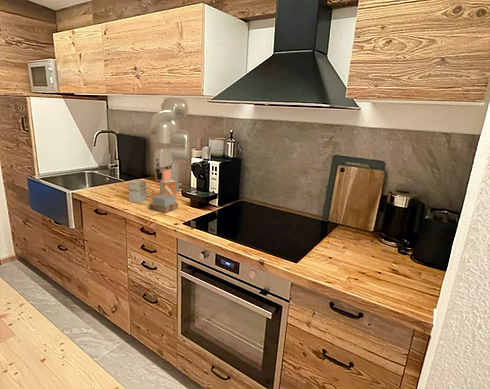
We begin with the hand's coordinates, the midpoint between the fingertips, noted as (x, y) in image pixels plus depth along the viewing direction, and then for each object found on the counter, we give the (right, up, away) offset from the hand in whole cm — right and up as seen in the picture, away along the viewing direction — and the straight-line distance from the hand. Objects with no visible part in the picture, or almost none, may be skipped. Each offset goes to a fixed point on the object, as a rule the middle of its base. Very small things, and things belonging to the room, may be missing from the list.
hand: (163, 178), depth 167 cm
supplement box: (-20, -13, +16) cm, 29 cm away
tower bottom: (-1, -18, +5) cm, 19 cm away
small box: (-3, -13, +21) cm, 25 cm away
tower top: (-1, -14, +4) cm, 15 cm away
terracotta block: (0, -1, 0) cm, 1 cm away
